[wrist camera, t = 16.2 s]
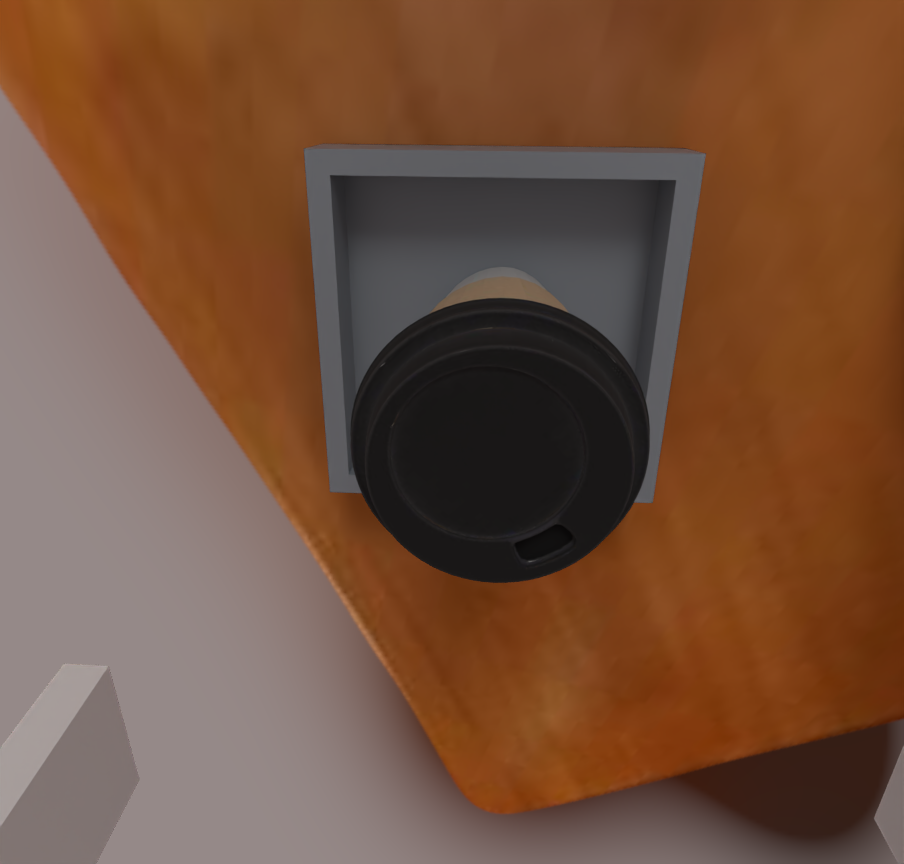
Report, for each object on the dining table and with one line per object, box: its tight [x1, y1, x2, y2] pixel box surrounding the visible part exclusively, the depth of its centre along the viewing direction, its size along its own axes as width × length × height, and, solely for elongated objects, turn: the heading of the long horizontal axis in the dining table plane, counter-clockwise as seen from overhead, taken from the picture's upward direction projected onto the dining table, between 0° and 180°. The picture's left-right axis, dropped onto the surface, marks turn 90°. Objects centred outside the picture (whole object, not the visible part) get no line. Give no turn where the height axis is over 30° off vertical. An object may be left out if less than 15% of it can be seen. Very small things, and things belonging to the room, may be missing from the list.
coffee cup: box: [350, 267, 650, 583], centre depth 27 cm, size 9×9×15 cm
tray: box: [304, 144, 706, 503], centre depth 33 cm, size 16×16×4 cm
